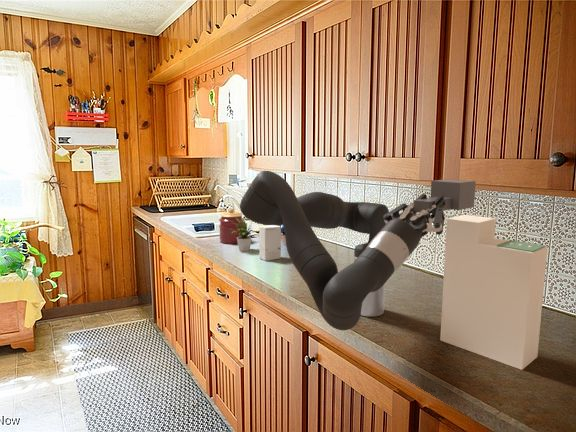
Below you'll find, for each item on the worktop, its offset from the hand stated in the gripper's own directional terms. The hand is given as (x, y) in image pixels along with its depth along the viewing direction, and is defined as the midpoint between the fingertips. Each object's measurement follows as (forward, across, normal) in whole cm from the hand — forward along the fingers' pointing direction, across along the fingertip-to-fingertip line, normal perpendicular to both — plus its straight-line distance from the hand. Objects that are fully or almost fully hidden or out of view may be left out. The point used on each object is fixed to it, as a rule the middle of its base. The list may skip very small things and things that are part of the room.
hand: (433, 198), depth 94 cm
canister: (+15, +139, +54) cm, 150 cm away
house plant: (+9, +120, +50) cm, 130 cm away
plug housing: (+2, 0, +4) cm, 4 cm away
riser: (-4, -6, +42) cm, 43 cm away
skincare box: (+9, +98, +50) cm, 110 cm away
